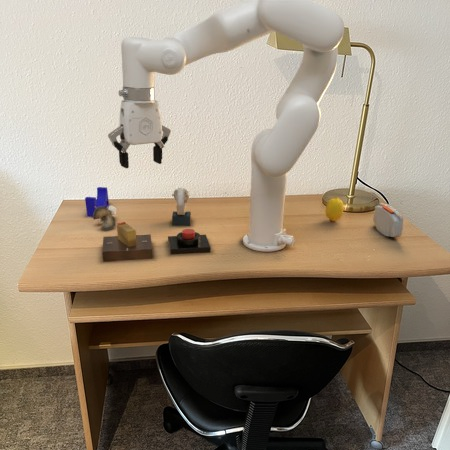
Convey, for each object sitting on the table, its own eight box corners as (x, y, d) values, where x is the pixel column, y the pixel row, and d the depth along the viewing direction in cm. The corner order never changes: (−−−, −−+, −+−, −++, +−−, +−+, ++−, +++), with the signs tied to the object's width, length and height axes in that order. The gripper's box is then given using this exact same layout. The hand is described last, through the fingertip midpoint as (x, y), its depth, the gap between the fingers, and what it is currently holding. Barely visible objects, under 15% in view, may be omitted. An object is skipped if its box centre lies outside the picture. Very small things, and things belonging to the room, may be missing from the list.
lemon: (336, 217, 162) (339, 193, 158) (344, 223, 157) (348, 199, 153) (321, 219, 160) (324, 195, 156) (329, 225, 156) (332, 200, 152)
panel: (151, 243, 140) (150, 233, 139) (152, 259, 131) (152, 248, 130) (104, 246, 138) (103, 235, 137) (103, 262, 129) (101, 251, 128)
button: (194, 234, 139) (194, 228, 138) (195, 239, 136) (195, 233, 135) (181, 234, 139) (181, 228, 138) (182, 239, 135) (182, 233, 135)
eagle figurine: (88, 217, 154) (87, 222, 146) (99, 197, 153) (98, 201, 144) (110, 229, 157) (110, 235, 148) (121, 209, 155) (121, 214, 147)
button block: (205, 239, 144) (205, 228, 142) (210, 252, 136) (210, 240, 134) (168, 241, 142) (167, 230, 140) (170, 254, 134) (170, 243, 132)
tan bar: (136, 245, 132) (135, 228, 129) (128, 247, 130) (127, 230, 128) (125, 237, 136) (124, 221, 134) (117, 239, 135) (116, 223, 133)
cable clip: (100, 217, 158) (98, 199, 155) (87, 216, 158) (84, 198, 155) (113, 205, 168) (111, 187, 165) (100, 204, 168) (98, 187, 165)
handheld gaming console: (400, 241, 145) (406, 216, 141) (391, 242, 145) (397, 216, 141) (378, 223, 158) (382, 199, 154) (369, 224, 157) (373, 200, 153)
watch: (190, 218, 158) (190, 185, 153) (190, 228, 151) (189, 193, 146) (173, 218, 158) (172, 185, 152) (171, 228, 151) (170, 193, 145)
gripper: (113, 98, 113) (117, 172, 121) (177, 95, 122) (177, 164, 131) (99, 93, 118) (104, 165, 126) (161, 91, 127) (162, 157, 136)
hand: (141, 164), depth 129 cm, fingers open, 9 cm apart
